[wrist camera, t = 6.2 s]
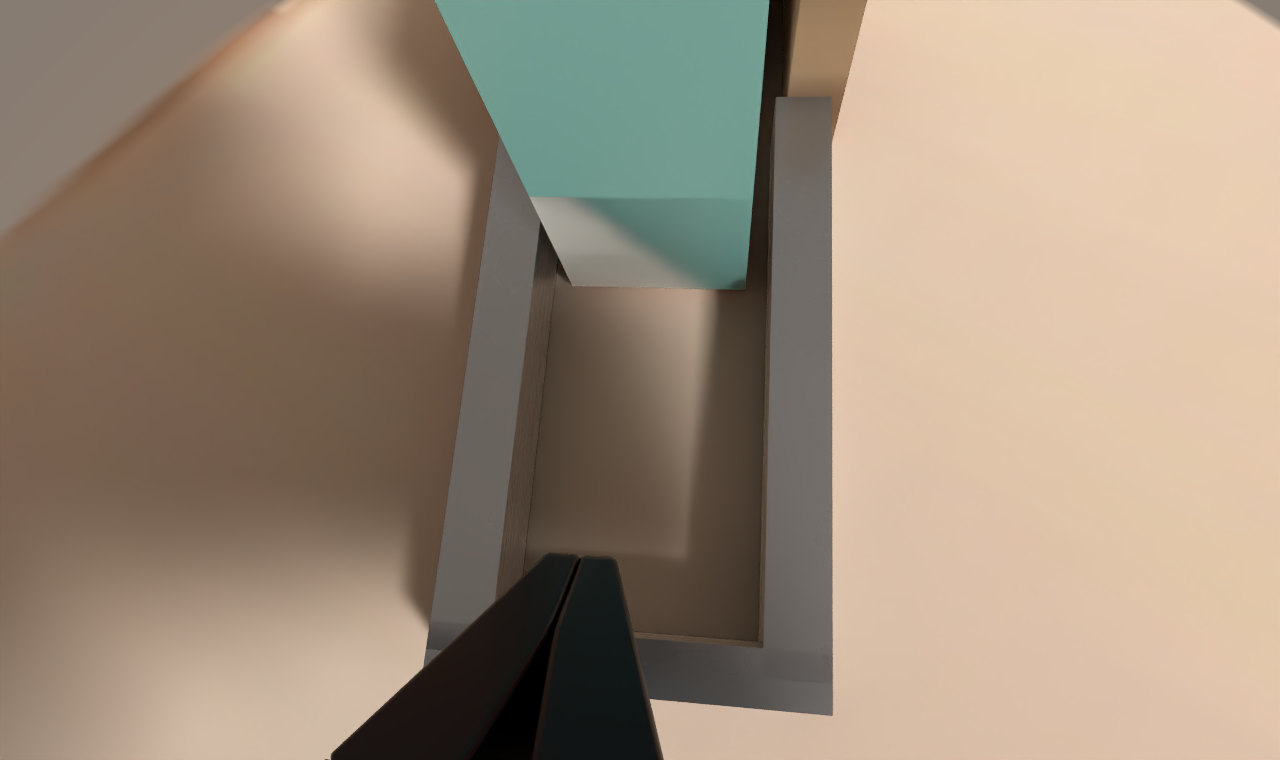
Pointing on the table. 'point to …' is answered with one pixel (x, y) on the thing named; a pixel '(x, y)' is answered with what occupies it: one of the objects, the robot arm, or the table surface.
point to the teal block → (627, 128)
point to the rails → (792, 440)
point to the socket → (819, 48)
